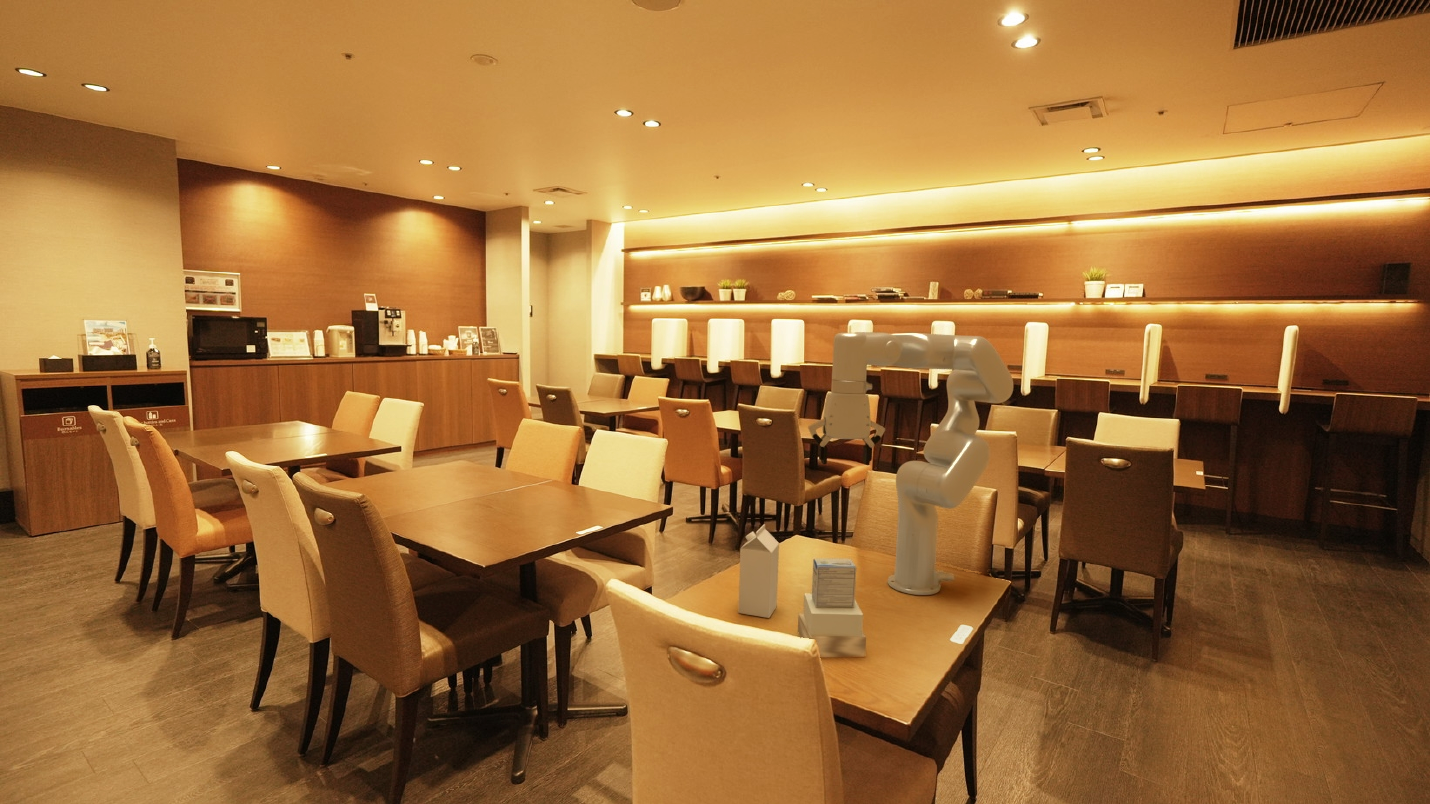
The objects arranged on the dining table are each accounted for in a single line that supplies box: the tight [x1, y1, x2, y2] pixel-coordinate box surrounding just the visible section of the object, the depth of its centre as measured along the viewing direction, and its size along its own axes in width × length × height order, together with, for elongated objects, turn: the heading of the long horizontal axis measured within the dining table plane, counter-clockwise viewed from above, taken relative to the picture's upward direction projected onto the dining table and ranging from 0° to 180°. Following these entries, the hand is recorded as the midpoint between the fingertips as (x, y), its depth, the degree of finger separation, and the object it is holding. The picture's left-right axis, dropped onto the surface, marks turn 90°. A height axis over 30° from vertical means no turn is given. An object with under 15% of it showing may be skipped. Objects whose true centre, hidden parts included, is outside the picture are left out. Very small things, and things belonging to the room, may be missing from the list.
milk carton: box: [737, 523, 780, 619], centre depth 150 cm, size 7×7×19 cm
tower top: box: [802, 592, 864, 637], centre depth 135 cm, size 10×10×4 cm
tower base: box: [797, 613, 867, 658], centre depth 135 cm, size 11×11×4 cm
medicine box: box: [811, 558, 858, 607], centre depth 134 cm, size 8×4×9 cm, turn 92°
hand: (844, 463), depth 151 cm, fingers open, 9 cm apart
